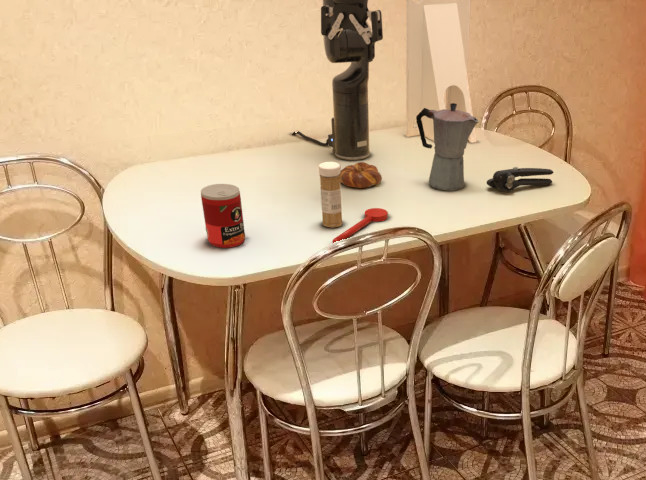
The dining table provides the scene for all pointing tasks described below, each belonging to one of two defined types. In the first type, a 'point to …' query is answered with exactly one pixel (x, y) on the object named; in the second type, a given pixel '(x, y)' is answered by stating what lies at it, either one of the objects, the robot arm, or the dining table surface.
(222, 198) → the canned food
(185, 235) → the dining table surface
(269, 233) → the dining table surface
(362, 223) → the red spoon
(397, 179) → the dining table surface
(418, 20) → the cream upright block
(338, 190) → the sprinkles bottle
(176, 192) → the dining table surface
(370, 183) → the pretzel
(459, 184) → the moka pot
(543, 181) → the can opener
